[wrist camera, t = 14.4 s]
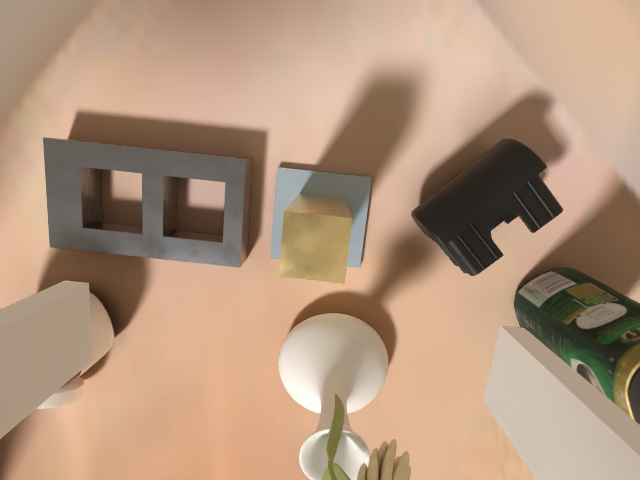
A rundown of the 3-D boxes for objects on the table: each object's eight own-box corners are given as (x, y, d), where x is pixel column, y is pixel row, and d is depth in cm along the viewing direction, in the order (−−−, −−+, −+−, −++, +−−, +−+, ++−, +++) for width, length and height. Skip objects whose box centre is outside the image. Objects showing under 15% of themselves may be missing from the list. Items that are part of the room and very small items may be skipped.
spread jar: (107, 276, 38) (12, 326, 26) (146, 370, 40) (74, 454, 29) (5, 303, 39) (-130, 363, 27) (49, 394, 41) (-59, 483, 30)
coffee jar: (607, 331, 38) (866, 491, 19) (535, 364, 39) (716, 544, 20) (574, 252, 36) (824, 347, 18) (499, 288, 37) (663, 412, 19)
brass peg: (295, 238, 36) (278, 276, 24) (299, 193, 35) (283, 210, 23) (339, 242, 36) (344, 283, 24) (344, 198, 35) (352, 218, 23)
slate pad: (271, 256, 37) (270, 258, 36) (278, 167, 35) (277, 167, 34) (359, 266, 37) (360, 267, 36) (371, 176, 35) (372, 177, 34)
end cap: (487, 139, 34) (526, 134, 27) (530, 197, 35) (577, 206, 28) (402, 207, 36) (419, 218, 29) (445, 261, 37) (471, 283, 30)
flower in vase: (373, 410, 40) (439, 793, 16) (272, 391, 40) (184, 750, 16) (400, 303, 38) (532, 568, 13) (292, 282, 37) (222, 513, 13)
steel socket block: (72, 240, 37) (50, 247, 34) (67, 139, 35) (43, 137, 32) (246, 258, 37) (239, 267, 34) (253, 159, 35) (245, 159, 32)
